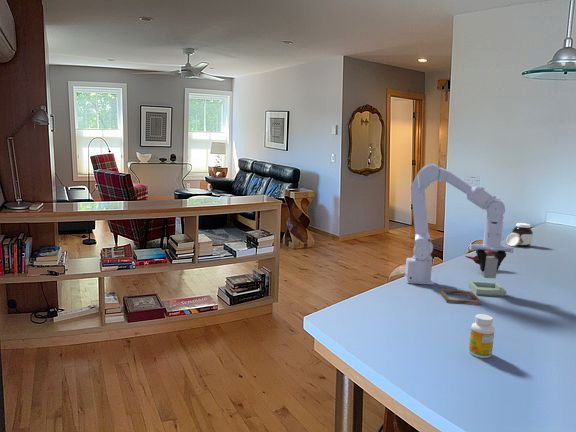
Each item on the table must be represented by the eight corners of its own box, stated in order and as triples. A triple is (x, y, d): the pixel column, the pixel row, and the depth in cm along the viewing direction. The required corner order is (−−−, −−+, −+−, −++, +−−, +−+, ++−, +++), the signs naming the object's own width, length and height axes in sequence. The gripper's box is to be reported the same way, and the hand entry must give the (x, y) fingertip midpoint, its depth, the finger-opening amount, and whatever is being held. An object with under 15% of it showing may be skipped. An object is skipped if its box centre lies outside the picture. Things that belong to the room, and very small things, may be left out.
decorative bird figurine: (499, 269, 202) (501, 246, 201) (466, 271, 196) (468, 248, 194) (493, 267, 205) (496, 244, 203) (461, 269, 198) (463, 246, 197)
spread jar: (532, 245, 254) (534, 224, 252) (529, 249, 244) (532, 227, 243) (507, 242, 260) (510, 221, 258) (504, 245, 251) (507, 224, 249)
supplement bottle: (464, 348, 121) (468, 312, 120) (484, 349, 122) (489, 312, 120) (474, 358, 116) (478, 320, 114) (495, 358, 116) (500, 321, 115)
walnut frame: (446, 302, 157) (446, 299, 156) (439, 291, 167) (439, 289, 167) (480, 304, 156) (481, 301, 155) (471, 294, 166) (471, 291, 166)
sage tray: (476, 294, 166) (476, 289, 165) (468, 286, 176) (468, 280, 175) (505, 296, 165) (506, 291, 165) (496, 288, 175) (496, 282, 174)
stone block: (484, 277, 168) (486, 258, 166) (480, 274, 171) (482, 255, 170) (495, 278, 167) (498, 259, 166) (492, 275, 171) (494, 256, 170)
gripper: (474, 234, 164) (470, 272, 166) (518, 237, 162) (514, 275, 164) (469, 230, 170) (465, 267, 173) (511, 233, 169) (506, 269, 171)
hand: (488, 271), depth 169 cm, fingers closed on stone block, 4 cm apart
